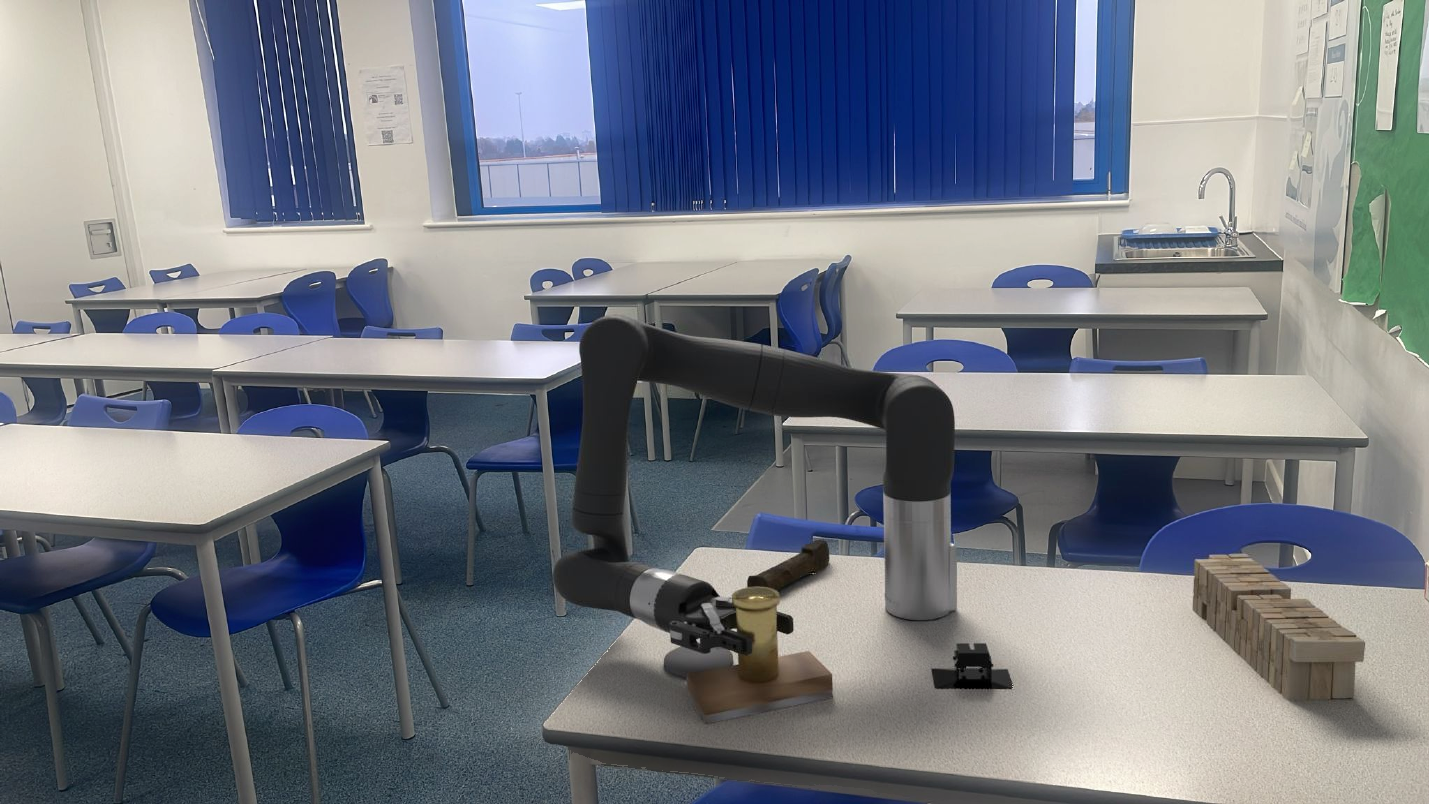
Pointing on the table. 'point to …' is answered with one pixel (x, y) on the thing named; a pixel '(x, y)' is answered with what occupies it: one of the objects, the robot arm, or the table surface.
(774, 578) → the hand tool
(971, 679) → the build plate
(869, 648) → the table surface
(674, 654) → the rubber pad
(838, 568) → the table surface
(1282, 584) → the block tower
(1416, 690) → the table surface
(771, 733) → the table surface
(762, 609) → the flanged brass cylinder
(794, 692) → the body
